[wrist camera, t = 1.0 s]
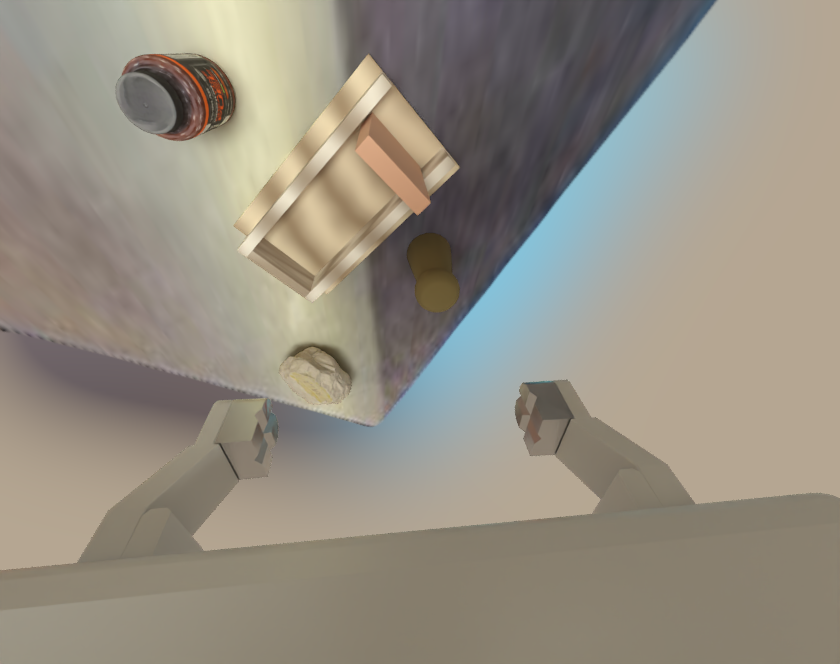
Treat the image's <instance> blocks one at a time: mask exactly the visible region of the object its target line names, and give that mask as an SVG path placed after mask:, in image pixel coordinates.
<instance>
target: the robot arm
mask: <svg viewBox="0 0 840 664" xmlns="http://www.w3.org/2000/svg"><path fill="white" fill-rule="evenodd" d="M519 392H520V394H521V397H519V398H518V399H517V400H516V405H515V415H516V420H517V423H518V426H519V428H520V429H522V430H523V431H524V432H525V435H524V438H523V439H524V441H525V444H526V446H527V449H528V451H529V454H530V456H540V455H555V456H556V457H557V458H558V459H559V460H560V461H561V462H562V463H563V464H565V466H566V467H567V468H568V469H570V470H571V471H572V472H573V473H574V474H575V475H576V476H577V477H578V478H579V479H580V480H581V481H582V482H583V483H584V484H585V485H586V486H587V487H589V489H591V490H592V491H593V492H594V493H595V494H596V495H597V496H598V497H599V498H600V499H601V500H600V502H599V503H598V505H597V507H596V508H595V510H594V511H593V513H592V514H587V515H577V516H566V517H557V518H546V519H535V520H525V521H514V522H503V523H493V524H483V525H472V526H461V527H450V528H440V529H430V530H419V531H408V532H399V533H388V534H377V535H367V536H357V537H346V538H335V539H326V540H314V541H304V542H294V543H283V544H273V545H262V546H252V547H241V548H231V549H221V550H210V551H203V549H202V547H201V546H200V545H199V544H198V543H197V541H196V540H195V539H194V538H193V537H192V535H193V534H194V533H195V532H196V531H197V530H198V529H199V527H200V526H201V525H202V524H203V523H204V522H205V520H206V519H207V518H208V517H209V516H210V515H211V513H212V512H213V511H214V510H215V509H216V507H217V506H218V505H219V504H220V503H221V502H222V501H223V499H224V498H225V497H226V496H227V495H228V494H229V492H230V491H231V490H232V489H233V488H234V486H235V485H236V484H237V483H238V482H239V480H241V479H251V478H260V477H268V473H269V469H270V466H271V462H272V458H273V457H272V454H271V452H270V450H271V449H272V448H273V447H274V446H275V445H276V442H277V438H278V421H277V418H276V415H274V414H273V413H271V410H272V403H271V401H270V399H267V398H265V399H238V400H218V401H217V402H216V403H215V404H214V405H213V406H212V409H211V411H210V413H209V415H208V417H207V419H206V421H205V423H204V426H203V427H202V430H201V432H200V434H199V436H198V438H197V440H196V442H195V444H194V446H188V447H187V448H186V449H184V450H183V451H182V452H181V453H180V454H178V455H177V456H176V457H175V458H173V459H172V460H171V461H169V462H168V463H167V464H166V465H164V466H163V467H162V468H161V469H159V470H158V471H157V472H156V473H155V474H153V475H152V476H151V477H150V478H148V479H147V480H146V481H145V482H143V484H141V485H140V486H138V487H137V488H136V489H135V490H133V491H132V492H131V493H130V494H128V495H127V496H126V497H125V498H123V499H122V500H121V501H120V502H119V503H117V504H116V505H115V506H113V507H112V508H111V509H110V510H108V512H107V513H106V515H105V517H104V519H103V520H102V522H101V523H100V525H99V527H98V528H97V530H96V532H95V533H94V535H93V537H92V538H91V540H90V542H89V544H88V545H87V547H86V549H85V550H84V552H83V554H82V555H81V557H80V559H79V560H78V562H77V563H74V564H63V565H52V566H42V567H31V568H21V569H11V570H10V569H9V570H0V664H840V498H838V497H835V496H833V495H829V494H823V493H806V494H796V495H786V496H775V497H766V498H754V499H744V500H734V501H724V502H713V503H703V504H695V502H694V501H693V500H692V498H691V497H690V495H689V494H688V493H687V491H686V490H685V489H684V487H683V486H682V484H681V483H680V482H679V480H678V479H677V477H676V476H675V474H674V473H673V472H672V470H671V469H670V467H669V466H668V465H667V464H666V463H664V462H663V461H661V460H660V459H658V458H657V457H655V456H654V455H652V454H651V453H649V452H648V451H646V450H645V449H643V448H641V447H640V446H638V445H637V444H635V443H634V442H632V441H631V440H629V439H628V438H626V437H625V436H623V435H622V434H620V433H619V432H617V431H615V430H614V429H613V428H611V427H610V426H608V425H607V424H605V423H604V422H602V421H601V420H599V419H598V418H596V417H595V418H591V416H590V414H589V413H588V411H587V409H586V408H585V406H584V404H583V403H582V401H581V400H580V398H579V397H578V395H577V393H576V392H575V390H574V388H573V386H572V385H571V383H570V382H569V381H568V380H557V381H540V382H526V383H522V384H521V386H520V389H519Z"/></svg>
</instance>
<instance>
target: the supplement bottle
mask: <svg viewBox="0 0 840 664" xmlns="http://www.w3.org/2000/svg"><path fill="white" fill-rule="evenodd" d="M116 99H117V102H118V104H119V106H120V108H121V110H122V112H123V113H124V114H125V116H126V117H127V118H128V119H129V120H130V121H131V122H132V123H133V124H134V125H135V126H137V127H138V128H140V129H141V130H143V131H146V132H148V133H151V134H156V135H158V136H160V137H162V138H165V139H168V140H174V141H184V140H189V139H191V138H194V137H197V136H198V135H201V134H203V133H205V132H207V131H209V130H211V129H213V128H216V127H218V126H220V125H222V124H224V123H225V122H226V121H228V120H229V119H230V117H231V116H232V114H233V111H234V107H235V96H234V92H233V88H232V86H231V84H230V81H229V80H228V78H227V76H226V75H225V74H224V72H223V71H222V70H221V69H220V68H219V67H218V66H217V65H216V64H215V63H214V62H212V61H211V60H209V59H207V58H205V57H203V56H200V55H196V54H188V53H186V54H147V55H141V56H138V57H135V58H134V59H132V60H131V61H129V62H128V63H127V65H126V66H125V68H124V69H123V72H122V76H121V77H120V78H119V80H118V82H117V84H116Z"/></svg>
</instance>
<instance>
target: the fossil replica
mask: <svg viewBox="0 0 840 664" xmlns="http://www.w3.org/2000/svg"><path fill="white" fill-rule="evenodd" d="M279 374H280V375H281V377H282V379H283V380H284V381H285V382H286V383H287V384H288V386H289V387H290V388H291V389H292V390H293V392H295V393H296V394H297V395H299V396H300V397H302V398H304V399H305V400H306V401H307V402H308V403H310V404H317V405H321V404H332V403H335V404H338V403H340V402H341V401H342V400H343V399H344V398H346V397H347V396H348V395H349V392H350V390H351V386H352V385H351V383H352V382H351V378H350V376H349V375H348V374H347V373H346V372H344V371H343V370H342V369H341V368H340V367H339V364H338V363H337V362H336V360H335V359H334V358H333V357H332V356H330V355H328V354H326V353H325V352H324V351H321V350H320V349H319V348H316V347H309V348H306V349H305V350H304V351H303V352H299V353H298V354H297V355H295V357H293V356H291V357H288V358H287V360H285V361H284V362H283V363H282V364H281V365H280V369H279Z"/></svg>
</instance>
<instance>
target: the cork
mask: <svg viewBox="0 0 840 664" xmlns="http://www.w3.org/2000/svg"><path fill="white" fill-rule="evenodd" d="M407 259H408V262H409V264H410V267H411V269H412V272H413V274H414V277H415V279H416V281H417V282H416V285H415V296H416V299H417V301H418V303H419V304H420V305H421V307H422V308H424V309H426V310H428V311H431V312H443V311H446V310H448V309H449V308H451V307H452V306H453V305H454V304H455V303H456V301H457V299H458V297H459V291H460V287H459V284H458V280H457V279H456V277H455V276H454V275H453V274H452V262H451V249H450V245H449V243H448V242H447V240H446V239H445V238H443V237H442V236H441V235H438V234H435V233H425V234H422V235H419V236H418V237H416V238H415V239H414V240H413V241H412V242H411V243H410V245H409V247H408V250H407Z"/></svg>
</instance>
